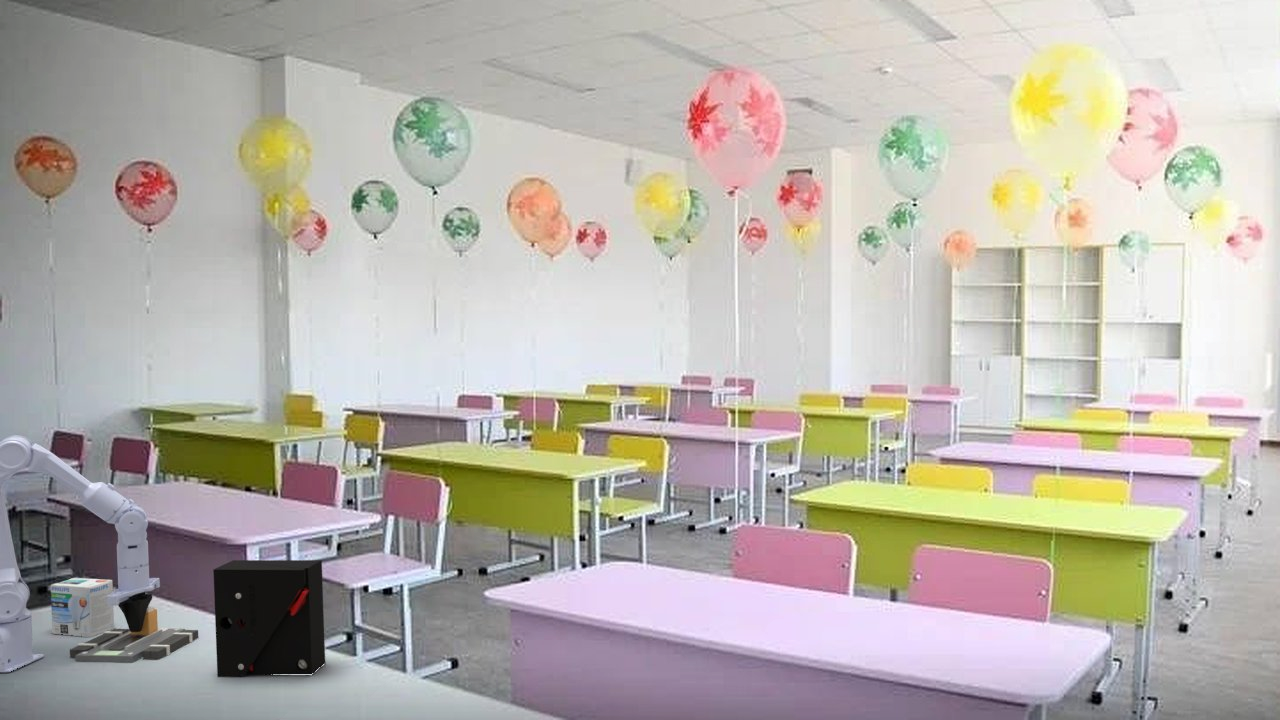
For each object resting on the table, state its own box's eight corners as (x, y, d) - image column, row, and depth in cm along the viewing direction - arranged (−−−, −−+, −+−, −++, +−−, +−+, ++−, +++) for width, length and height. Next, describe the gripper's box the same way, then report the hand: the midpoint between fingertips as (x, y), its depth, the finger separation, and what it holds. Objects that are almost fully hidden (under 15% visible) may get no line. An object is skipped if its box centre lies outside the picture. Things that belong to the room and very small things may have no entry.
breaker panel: (132, 662, 199) (132, 652, 199) (75, 661, 201) (75, 651, 201) (185, 634, 217) (184, 625, 217) (132, 633, 218) (132, 624, 218)
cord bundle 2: (159, 659, 201) (159, 650, 200) (141, 659, 201) (141, 650, 201) (199, 637, 214) (199, 629, 214) (182, 637, 215) (182, 628, 215)
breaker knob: (149, 634, 211) (148, 610, 211) (131, 634, 212) (130, 609, 211) (157, 630, 214) (156, 606, 214) (139, 630, 215) (138, 605, 214)
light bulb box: (50, 634, 219) (48, 584, 219) (76, 625, 226) (74, 576, 225) (91, 637, 216) (88, 587, 216) (115, 628, 223) (113, 579, 222)
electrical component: (329, 661, 197) (326, 557, 197) (307, 679, 187) (303, 570, 187) (242, 660, 199) (238, 557, 198) (215, 678, 189) (211, 570, 188)
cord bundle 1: (86, 658, 203) (86, 649, 202) (68, 657, 203) (68, 648, 203) (130, 636, 216) (130, 627, 216) (113, 636, 217) (113, 627, 217)
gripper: (129, 574, 202) (132, 642, 202) (172, 557, 216) (174, 621, 217) (96, 573, 203) (98, 642, 203) (141, 557, 217) (143, 620, 218)
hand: (135, 631), depth 210 cm, fingers closed
